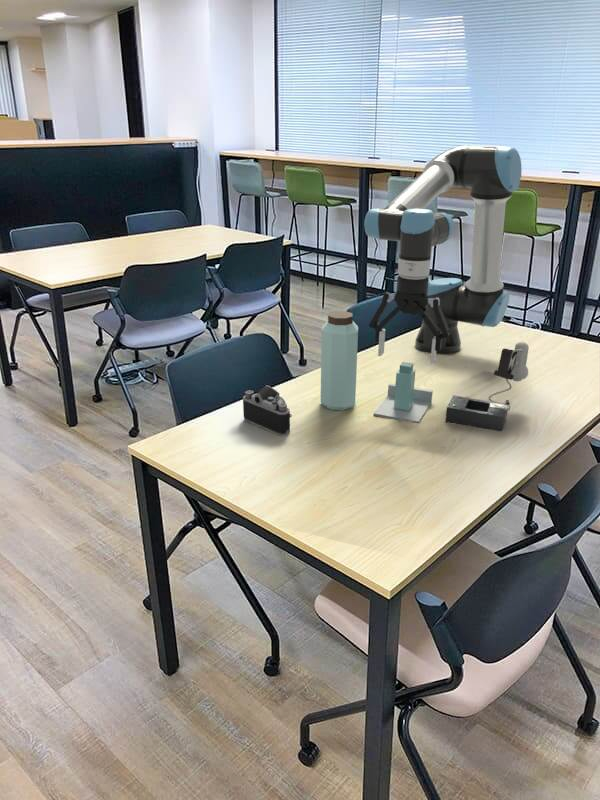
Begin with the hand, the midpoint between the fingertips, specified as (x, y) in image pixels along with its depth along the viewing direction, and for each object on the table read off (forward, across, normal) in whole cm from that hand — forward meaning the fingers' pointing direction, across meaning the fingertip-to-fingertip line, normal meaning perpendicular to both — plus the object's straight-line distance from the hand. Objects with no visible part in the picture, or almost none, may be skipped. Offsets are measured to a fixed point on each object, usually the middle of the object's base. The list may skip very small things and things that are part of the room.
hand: (406, 358), depth 162 cm
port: (+14, +19, 0) cm, 24 cm away
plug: (+14, 0, 0) cm, 14 cm away
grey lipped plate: (+14, 0, 0) cm, 14 cm away
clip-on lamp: (+14, +25, +12) cm, 31 cm away
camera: (+15, -28, -21) cm, 38 cm away
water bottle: (+15, -17, -4) cm, 23 cm away
